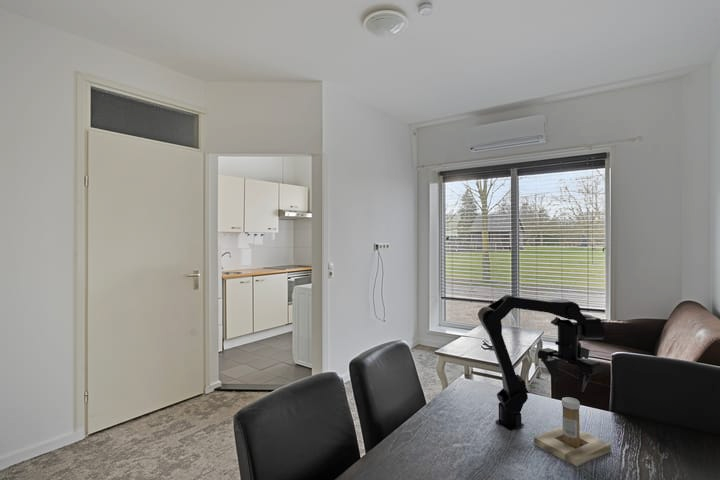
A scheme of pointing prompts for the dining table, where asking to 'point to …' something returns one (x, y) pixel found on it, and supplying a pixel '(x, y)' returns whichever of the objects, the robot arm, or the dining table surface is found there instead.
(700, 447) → the dining table surface
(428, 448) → the dining table surface
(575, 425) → the sprinkles bottle
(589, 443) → the socket block
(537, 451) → the dining table surface
